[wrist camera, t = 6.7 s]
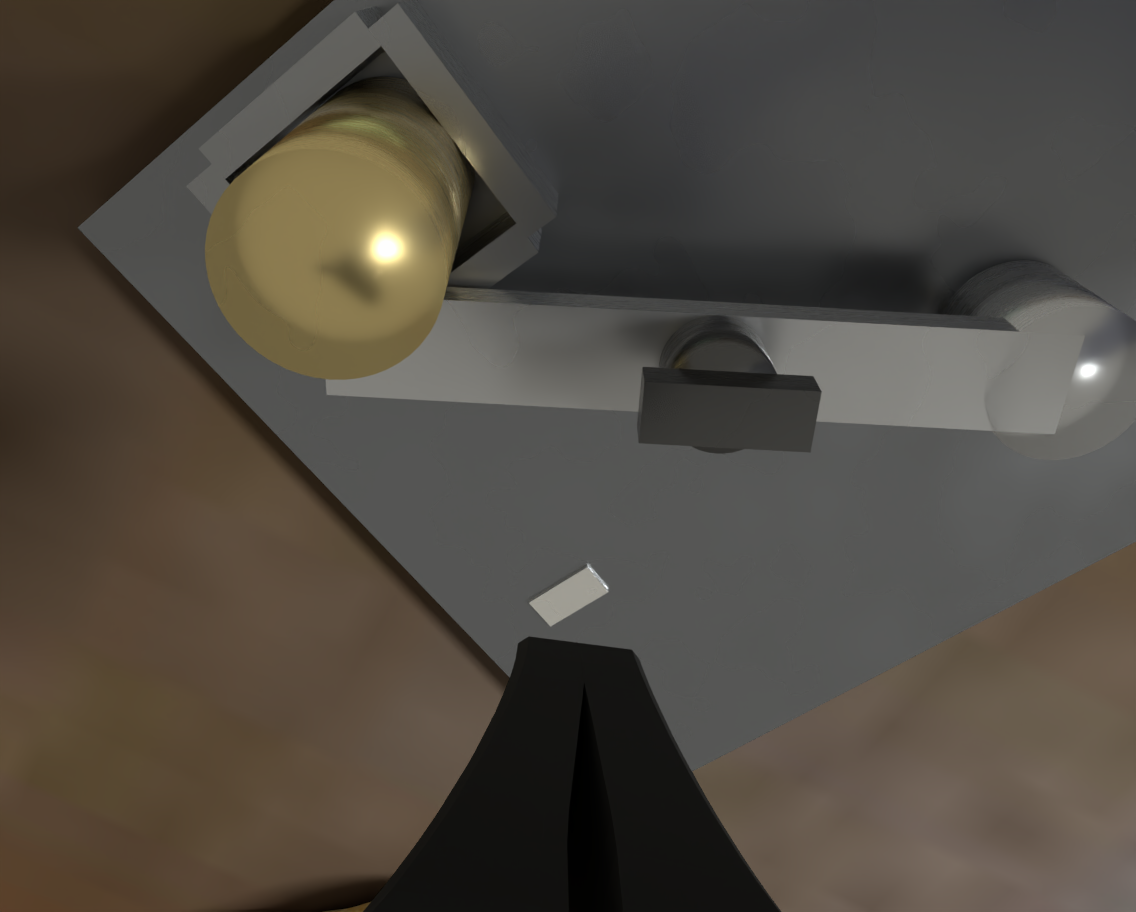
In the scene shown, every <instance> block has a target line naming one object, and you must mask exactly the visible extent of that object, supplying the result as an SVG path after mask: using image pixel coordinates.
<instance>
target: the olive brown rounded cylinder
mask: <svg viewBox="0 0 1136 912" xmlns="http://www.w3.org/2000/svg"><path fill="white" fill-rule="evenodd" d="M474 178H475V168H474V167H473V166H472V165H471V163H470V162H469V161H468V159H467V158H466V157H465V155H464V154H463V153H462V151H461V150H460V149H459V147H458V146H457V145H456V144H455V142H454V141H453V140H452V138H451V137H450V136H449V134H448V133H447V132H446V130H445V129H444V128H443V126H442V125H441V124H440V123H439V121H438V120H437V119H436V117H435V116H434V115H433V113H432V112H431V111H430V109H429V108H428V107H427V105H426V104H425V103H424V102H423V100H422V99H421V98H420V96H419V95H418V94H417V92H416V91H415V90H414V88H413V87H412V86H411V84H410V83H409V82H408V81H407V80H405V79H400V78H394V77H375V78H368V79H364V80H360V81H357V82H355V83H352V84H350V85H348V86H346V87H345V88H343V89H341V90H340V91H338V92H337V93H336V94H335V95H333V96H332V97H331V98H330V99H329V100H327V101H326V102H325V103H324V104H323V105H322V106H320V107H319V108H318V109H317V110H316V111H315V112H313V113H312V114H311V115H310V116H309V117H307V118H306V119H305V120H304V121H303V122H302V123H300V124H299V125H298V126H297V127H296V128H294V129H293V130H292V131H291V132H290V133H289V134H287V135H286V136H285V137H284V138H283V139H282V140H280V141H279V142H278V143H277V144H276V145H274V146H273V147H272V148H271V149H270V150H269V151H267V152H266V153H265V154H264V155H263V156H261V157H260V158H259V159H258V160H257V161H256V162H254V163H253V164H252V165H251V166H250V167H249V168H247V169H246V170H245V171H244V172H243V173H241V174H240V175H239V176H238V177H237V178H236V179H234V181H233V182H232V183H231V184H230V185H229V186H228V187H227V189H226V190H225V191H224V192H223V194H222V196H221V197H220V199H219V200H218V202H217V204H216V206H215V208H214V211H213V213H212V215H211V217H210V221H209V225H208V229H207V233H206V242H205V263H206V269H207V276H208V280H209V283H210V286H211V290H212V293H213V295H214V297H215V300H216V302H217V304H218V306H219V308H220V310H221V311H222V313H223V315H224V316H225V318H226V320H227V321H228V322H229V324H230V325H231V326H232V327H233V329H234V330H235V331H236V333H237V334H238V335H239V336H240V337H241V338H242V339H243V340H244V341H245V342H246V343H247V344H248V345H250V346H251V347H252V348H253V349H254V350H256V351H257V352H258V353H259V354H261V355H262V356H264V357H266V358H267V359H269V360H270V361H272V362H273V363H275V364H277V365H279V366H281V367H283V368H285V369H288V370H291V371H293V372H296V373H299V374H302V375H306V376H310V377H314V378H321V379H329V380H347V379H356V378H362V377H366V376H370V375H374V374H377V373H379V372H382V371H385V370H387V369H389V368H391V367H393V366H394V365H396V364H398V363H400V362H401V361H403V360H404V359H405V358H407V357H408V356H409V355H411V354H412V353H413V352H414V351H415V350H416V349H417V348H418V347H419V346H420V345H421V344H422V342H423V341H424V340H425V338H426V337H427V336H428V335H429V333H430V331H431V330H432V328H433V326H434V324H435V323H436V320H437V318H438V315H439V313H440V310H441V307H442V303H443V300H444V296H445V292H446V288H447V284H448V281H449V277H450V273H451V269H452V266H453V262H454V258H455V254H456V250H457V247H458V243H459V239H460V235H461V231H462V228H463V224H464V220H465V216H466V212H467V209H468V205H469V201H470V197H471V193H472V189H473V185H474Z"/></svg>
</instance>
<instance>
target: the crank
mask: <svg viewBox="0 0 1136 912" xmlns="http://www.w3.org/2000/svg"><path fill="white" fill-rule="evenodd" d="M326 393H327V395H338V396H357V397H375V398H394V399H412V400H430V401H449V402H467V403H486V404H504V405H523V406H541V407H560V408H578V409H597V410H615V411H633V412H638V419H637V432H638V441H639V443H642V444H661V445H679V446H692V447H693V448H695V449H698V450H701V451H704V452H708V453H716V454H725V453H733V452H737V451H740V450H743V449H754V450H772V451H791V452H809V453H811V447H812V442H813V436H814V431H815V426H816V421H818V422H836V423H855V424H873V425H892V426H910V427H929V428H947V429H966V430H984V431H992V432H993V433H994V434H995V435H996V436H997V437H998V438H999V440H1000V441H1001V442H1002V443H1003V444H1005V445H1006V446H1007V447H1009V448H1010V449H1012V450H1013V451H1015V452H1017V453H1019V454H1021V455H1024V456H1027V457H1030V458H1035V459H1041V460H1063V459H1070V458H1074V457H1079V456H1082V455H1085V454H1088V453H1090V452H1093V451H1095V450H1097V449H1099V448H1101V447H1103V446H1105V445H1106V444H1108V443H1110V442H1111V441H1113V440H1114V439H1115V438H1117V437H1118V436H1120V435H1121V434H1122V433H1123V432H1124V431H1125V430H1126V429H1127V428H1129V426H1130V425H1131V424H1132V423H1133V422H1134V421H1135V420H1136V321H1135V320H1134V319H1132V318H1131V317H1129V316H1128V315H1126V314H1125V313H1123V312H1122V311H1120V310H1119V309H1117V308H1116V307H1114V306H1113V305H1111V304H1110V303H1108V302H1107V301H1105V300H1104V299H1102V298H1101V297H1099V296H1097V295H1096V294H1094V293H1093V292H1091V291H1090V290H1088V289H1087V288H1085V287H1084V286H1082V285H1081V284H1079V283H1078V282H1076V281H1075V280H1073V279H1072V278H1070V277H1069V276H1067V275H1066V274H1064V273H1063V272H1061V271H1060V270H1058V269H1056V268H1055V267H1052V266H1050V265H1048V264H1044V263H1041V262H1036V261H1012V262H1006V263H1002V264H999V265H996V266H993V267H991V268H988V269H986V270H984V271H982V272H980V273H978V274H977V275H975V276H974V277H972V278H971V279H969V280H968V281H967V282H966V283H965V284H963V285H962V286H961V287H960V288H959V289H958V290H957V291H956V292H955V293H954V295H953V296H952V297H951V299H950V300H949V301H948V303H947V304H946V306H945V308H944V309H943V311H942V314H928V313H910V312H892V311H874V310H856V309H838V308H820V307H802V306H784V305H766V304H748V303H730V302H712V301H694V300H676V299H658V298H640V297H622V296H604V295H585V294H567V293H549V292H531V291H513V290H495V289H477V288H459V287H447V288H446V292H445V296H444V300H443V303H442V307H441V310H440V313H439V315H438V318H437V320H436V323H435V324H434V326H433V328H432V330H431V331H430V333H429V335H428V336H427V337H426V338H425V340H424V341H423V342H422V344H421V345H420V346H419V347H418V348H417V349H416V350H415V351H414V352H413V353H412V354H411V355H409V356H408V357H407V358H405V359H404V360H403V361H401V362H400V363H398V364H396V365H394V366H393V367H391V368H389V369H387V370H385V371H382V372H379V373H377V374H374V375H370V376H366V377H362V378H356V379H347V380H329V379H326Z"/></svg>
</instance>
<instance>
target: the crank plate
mask: <svg viewBox="0 0 1136 912" xmlns="http://www.w3.org/2000/svg"><path fill="white" fill-rule="evenodd" d="M375 77H394V78H400V79H405V80H407V81H408V82H409V83H410V84H411V86H412V87H413V88H414V90H415V91H416V92H417V94H418V95H419V96H420V98H421V99H422V100H423V102H424V103H425V104H426V105H427V107H428V108H429V109H430V111H431V112H432V113H433V115H434V116H435V117H436V119H437V120H438V121H439V123H440V124H441V125H442V126H443V128H444V129H445V130H446V132H447V133H448V134H449V136H450V137H451V138H452V140H453V141H454V142H455V144H456V145H457V146H458V147H459V149H460V150H461V151H462V153H463V154H464V155H465V157H466V158H467V159H468V161H469V162H470V163H471V165H472V166H473V167H474V168H475V178H474V185H473V189H472V193H471V197H470V201H469V205H468V209H467V212H466V216H465V220H464V224H463V228H462V231H461V235H460V239H459V243H458V247H457V250H456V254H455V258H454V262H453V266H452V269H451V273H450V277H449V281H448V284H447V287H459V288H477V289H495V290H513V291H531V292H549V293H567V294H585V295H604V296H622V297H640V298H658V299H676V300H694V301H712V302H730V303H748V304H766V305H784V306H802V307H820V308H838V309H856V310H874V311H892V312H910V313H928V314H942V311H943V309H944V308H945V306H946V304H947V303H948V301H949V300H950V299H951V297H952V296H953V295H954V293H955V292H956V291H957V290H958V289H959V288H960V287H961V286H962V285H963V284H965V283H966V282H967V281H968V280H969V279H971V278H972V277H974V276H975V275H977V274H978V273H980V272H982V271H984V270H986V269H988V268H991V267H993V266H996V265H999V264H1002V263H1006V262H1012V261H1036V262H1041V263H1044V264H1048V265H1050V266H1052V267H1055V268H1056V269H1058V270H1060V271H1061V272H1063V273H1064V274H1066V275H1067V276H1069V277H1070V278H1072V279H1073V280H1075V281H1076V282H1078V283H1079V284H1081V285H1082V286H1084V287H1085V288H1087V289H1088V290H1090V291H1091V292H1093V293H1094V294H1096V295H1097V296H1099V297H1101V298H1102V299H1104V300H1105V301H1107V302H1108V303H1110V304H1111V305H1113V306H1114V307H1116V308H1117V309H1119V310H1120V311H1122V312H1123V313H1125V314H1126V315H1128V316H1129V317H1131V318H1132V319H1134V320H1135V321H1136V0H334V1H332V2H331V3H330V4H329V5H328V6H327V7H326V8H325V9H323V10H322V11H321V12H320V13H319V14H318V15H317V16H316V17H314V18H313V19H312V20H311V21H310V22H309V23H308V24H307V25H305V26H304V27H303V28H302V29H301V30H300V31H299V32H298V33H296V34H295V35H294V36H293V37H292V38H291V39H290V40H289V41H287V42H286V43H285V44H284V45H283V46H282V47H281V48H279V49H278V50H277V51H276V52H275V53H274V54H273V55H272V56H270V57H269V58H268V59H267V60H266V61H265V62H264V63H263V64H261V65H260V66H259V67H258V68H257V69H256V70H255V71H254V72H252V73H251V74H250V75H249V76H248V77H247V78H246V79H245V80H243V81H242V82H241V83H240V84H239V85H238V86H237V87H236V88H234V89H233V90H232V91H231V92H230V93H229V94H228V95H226V96H225V97H224V98H223V99H222V100H221V101H220V102H219V103H217V104H216V105H215V106H214V107H213V108H212V109H211V110H210V111H208V112H207V113H206V114H205V115H204V116H203V117H202V118H201V119H199V120H198V121H197V122H196V123H195V124H194V125H193V126H192V127H190V128H189V129H188V130H187V131H186V132H185V133H184V134H183V135H181V136H180V137H179V138H178V139H177V140H176V141H175V142H173V143H172V144H171V145H170V146H169V147H168V148H167V149H166V150H164V151H163V152H162V153H161V154H160V155H159V156H158V157H157V158H155V159H154V160H153V161H152V162H151V163H150V164H149V165H148V166H146V167H145V168H144V169H143V170H142V171H141V172H140V173H139V174H137V175H136V176H135V177H134V178H133V179H132V180H131V181H130V182H128V183H127V184H126V185H125V186H124V187H123V188H122V189H120V190H119V191H118V192H117V193H116V194H115V195H114V196H113V197H111V198H110V199H109V200H108V201H107V202H106V203H105V204H104V205H102V206H101V207H100V208H99V209H98V210H97V211H96V212H95V213H93V214H92V215H91V216H90V217H89V218H88V219H87V220H86V221H84V222H83V223H82V224H81V225H80V226H79V227H78V229H79V230H80V231H81V232H82V233H83V234H84V235H85V236H86V237H87V238H88V239H89V240H90V241H91V242H92V243H93V244H94V245H95V246H96V248H97V249H98V250H99V251H100V252H101V253H102V254H103V255H104V256H105V257H106V258H107V259H108V260H109V261H110V262H111V263H112V264H113V265H114V266H115V267H116V268H117V269H118V270H119V271H120V272H121V274H122V275H123V276H124V277H125V278H126V279H127V280H128V281H129V282H130V283H131V284H132V285H133V286H134V287H135V288H136V289H137V290H138V291H139V292H140V293H141V294H142V295H143V296H144V297H145V299H146V300H147V301H148V302H149V303H150V304H151V305H152V306H153V307H154V308H155V309H156V310H157V311H158V312H159V313H160V314H161V315H162V316H163V317H164V318H165V319H166V320H167V321H168V322H169V324H170V325H171V326H172V327H173V328H174V329H175V330H176V331H177V332H178V333H179V334H180V335H181V336H182V337H183V338H184V339H185V340H186V341H187V342H188V343H189V344H190V345H191V346H192V347H193V348H194V350H195V351H196V352H197V353H198V354H199V355H200V356H201V357H202V358H203V359H204V360H205V361H206V362H207V363H208V364H209V365H210V366H211V367H212V368H213V369H214V370H215V371H216V372H217V373H218V375H219V376H220V377H221V378H222V379H223V380H224V381H225V382H226V383H227V384H228V385H229V386H230V387H231V388H232V389H233V390H234V391H235V392H236V393H237V394H238V395H239V396H240V397H241V398H242V400H243V401H244V402H245V403H246V404H247V405H248V406H249V407H250V408H251V409H252V410H253V411H254V412H255V413H256V414H257V415H258V416H259V417H260V418H261V419H262V420H263V421H264V422H265V423H266V424H267V426H268V427H269V428H270V429H271V430H272V431H273V432H274V433H275V434H276V435H277V436H278V437H279V438H280V439H281V440H282V441H283V442H284V443H285V444H286V445H287V446H288V447H289V448H290V449H291V451H292V452H293V453H294V454H295V455H296V456H297V457H298V458H299V459H300V460H301V461H302V462H303V463H304V464H305V465H306V466H307V467H308V468H309V469H310V470H311V471H312V472H313V473H314V474H315V476H316V477H317V478H318V479H319V480H320V481H321V482H322V483H323V484H324V485H325V486H326V487H327V488H328V489H329V490H330V491H331V492H332V493H333V494H334V495H335V496H336V497H337V498H338V499H339V500H340V502H341V503H342V504H343V505H344V506H345V507H346V508H347V509H348V510H349V511H350V512H351V513H352V514H353V515H354V516H355V517H356V518H357V519H358V520H359V521H360V522H361V523H362V524H363V525H364V527H365V528H366V529H367V530H368V531H369V532H370V533H371V534H372V535H373V536H374V537H375V538H376V539H377V540H378V541H379V542H380V543H381V544H382V545H383V546H384V547H385V548H386V549H387V550H388V552H389V553H390V554H391V555H392V556H393V557H394V558H395V559H396V560H397V561H398V562H399V563H400V564H401V565H402V566H403V567H404V568H405V569H406V570H407V571H408V572H409V573H410V574H411V575H412V576H413V578H414V579H415V580H416V581H417V582H418V583H419V584H420V585H421V586H422V587H423V588H424V589H425V590H426V591H427V592H428V593H429V594H430V595H431V596H432V597H433V598H434V599H435V600H436V601H437V603H438V604H439V605H440V606H441V607H442V608H443V609H444V610H445V611H446V612H447V613H448V614H449V615H450V616H451V617H452V618H453V619H454V620H455V621H456V622H457V623H458V624H459V625H460V626H461V628H462V629H463V630H464V631H465V632H466V633H467V634H468V635H469V636H470V637H471V638H472V639H473V640H474V641H475V642H476V643H477V644H478V645H479V646H480V647H481V648H482V649H483V650H484V651H485V652H486V654H487V655H488V656H489V657H490V658H491V659H492V660H493V661H494V662H495V663H496V664H497V665H498V666H499V667H500V668H501V669H502V670H503V671H504V672H505V673H506V674H507V675H508V676H509V677H510V676H511V673H512V669H513V666H514V662H515V659H516V652H517V646H518V643H519V642H521V641H522V640H524V639H525V638H527V637H529V636H530V637H538V638H546V639H553V640H561V641H569V642H577V643H585V644H592V645H600V646H608V647H616V648H624V649H631V650H633V652H634V653H635V654H636V655H637V657H638V658H639V660H640V662H641V665H642V668H643V670H644V673H645V675H646V678H647V680H648V683H649V685H650V687H651V690H652V692H653V694H654V696H655V699H656V701H657V703H658V705H659V708H660V710H661V712H662V714H663V716H664V718H665V720H666V722H667V724H668V726H669V729H670V731H671V733H672V735H673V737H674V739H675V741H676V743H677V745H678V747H679V749H680V750H681V752H682V754H683V756H684V758H685V760H686V762H687V763H688V765H689V767H690V769H691V771H694V770H696V769H698V768H700V767H702V766H704V765H706V764H707V763H709V762H711V761H713V760H715V759H717V758H719V757H721V756H723V755H725V754H727V753H729V752H731V751H733V750H734V749H736V748H738V747H740V746H742V745H744V744H746V743H748V742H750V741H752V740H754V739H756V738H758V737H760V736H762V735H763V734H765V733H767V732H769V731H771V730H773V729H775V728H777V727H779V726H781V725H783V724H785V723H787V722H789V721H790V720H792V719H794V718H796V717H798V716H800V715H802V714H804V713H806V712H808V711H810V710H812V709H814V708H816V707H817V706H819V705H821V704H823V703H825V702H827V701H829V700H831V699H833V698H835V697H837V696H839V695H841V694H843V693H844V692H846V691H848V690H850V689H852V688H854V687H856V686H858V685H860V684H862V683H864V682H866V681H868V680H870V679H871V678H873V677H875V676H877V675H879V674H881V673H883V672H885V671H887V670H889V669H891V668H893V667H895V666H897V665H898V664H900V663H902V662H904V661H906V660H908V659H910V658H912V657H914V656H916V655H918V654H920V653H922V652H924V651H926V650H927V649H929V648H931V647H933V646H935V645H937V644H939V643H941V642H943V641H945V640H947V639H949V638H951V637H953V636H954V635H956V634H958V633H960V632H962V631H964V630H966V629H968V628H970V627H972V626H974V625H976V624H978V623H980V622H981V621H983V620H985V619H987V618H989V617H991V616H993V615H995V614H997V613H999V612H1001V611H1003V610H1005V609H1007V608H1008V607H1010V606H1012V605H1014V604H1016V603H1018V602H1020V601H1022V600H1024V599H1026V598H1028V597H1030V596H1032V595H1034V594H1035V593H1037V592H1039V591H1041V590H1043V589H1045V588H1047V587H1049V586H1051V585H1053V584H1055V583H1057V582H1059V581H1061V580H1062V579H1064V578H1066V577H1068V576H1070V575H1072V574H1074V573H1076V572H1078V571H1080V570H1082V569H1084V568H1086V567H1088V566H1090V565H1091V564H1093V563H1095V562H1097V561H1099V560H1101V559H1103V558H1105V557H1107V556H1109V555H1111V554H1113V553H1115V552H1117V551H1118V550H1120V549H1122V548H1124V547H1126V546H1128V545H1130V544H1132V543H1134V542H1136V420H1135V421H1134V422H1133V423H1132V424H1131V425H1130V426H1129V428H1127V429H1126V430H1125V431H1124V432H1123V433H1122V434H1121V435H1120V436H1118V437H1117V438H1115V439H1114V440H1113V441H1111V442H1110V443H1108V444H1106V445H1105V446H1103V447H1101V448H1099V449H1097V450H1095V451H1093V452H1090V453H1088V454H1085V455H1082V456H1079V457H1074V458H1070V459H1063V460H1041V459H1035V458H1030V457H1027V456H1024V455H1021V454H1019V453H1017V452H1015V451H1013V450H1012V449H1010V448H1009V447H1007V446H1006V445H1005V444H1003V443H1002V442H1001V441H1000V440H999V438H998V437H997V436H996V435H995V434H994V433H993V432H992V431H984V430H966V429H947V428H929V427H910V426H892V425H873V424H855V423H836V422H818V421H816V426H815V431H814V436H813V442H812V447H811V453H809V452H791V451H772V450H754V449H743V450H740V451H737V452H733V453H725V454H716V453H708V452H704V451H701V450H698V449H695V448H693V447H692V446H679V445H661V444H642V443H639V441H638V432H637V419H638V412H633V411H615V410H597V409H578V408H560V407H541V406H523V405H504V404H486V403H467V402H449V401H430V400H412V399H394V398H375V397H357V396H338V395H327V393H326V379H321V378H314V377H310V376H306V375H302V374H299V373H296V372H293V371H291V370H288V369H285V368H283V367H281V366H279V365H277V364H275V363H273V362H272V361H270V360H269V359H267V358H266V357H264V356H262V355H261V354H259V353H258V352H257V351H256V350H254V349H253V348H252V347H251V346H250V345H248V344H247V343H246V342H245V341H244V340H243V339H242V338H241V337H240V336H239V335H238V334H237V333H236V331H235V330H234V329H233V327H232V326H231V325H230V324H229V322H228V321H227V320H226V318H225V316H224V315H223V313H222V311H221V310H220V308H219V306H218V304H217V302H216V300H215V297H214V295H213V293H212V290H211V286H210V283H209V280H208V276H207V269H206V263H205V242H206V233H207V229H208V225H209V221H210V217H211V215H212V213H213V211H214V208H215V206H216V204H217V202H218V200H219V199H220V197H221V196H222V194H223V192H224V191H225V190H226V189H227V187H228V186H229V185H230V184H231V183H232V182H233V181H234V179H236V178H237V177H238V176H239V175H240V174H241V173H243V172H244V171H245V170H246V169H247V168H249V167H250V166H251V165H252V164H253V163H254V162H256V161H257V160H258V159H259V158H260V157H261V156H263V155H264V154H265V153H266V152H267V151H269V150H270V149H271V148H272V147H273V146H274V145H276V144H277V143H278V142H279V141H280V140H282V139H283V138H284V137H285V136H286V135H287V134H289V133H290V132H291V131H292V130H293V129H294V128H296V127H297V126H298V125H299V124H300V123H302V122H303V121H304V120H305V119H306V118H307V117H309V116H310V115H311V114H312V113H313V112H315V111H316V110H317V109H318V108H319V107H320V106H322V105H323V104H324V103H325V102H326V101H327V100H329V99H330V98H331V97H332V96H333V95H335V94H336V93H337V92H338V91H340V90H341V89H343V88H345V87H346V86H348V85H350V84H352V83H355V82H357V81H360V80H364V79H368V78H375Z"/></svg>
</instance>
